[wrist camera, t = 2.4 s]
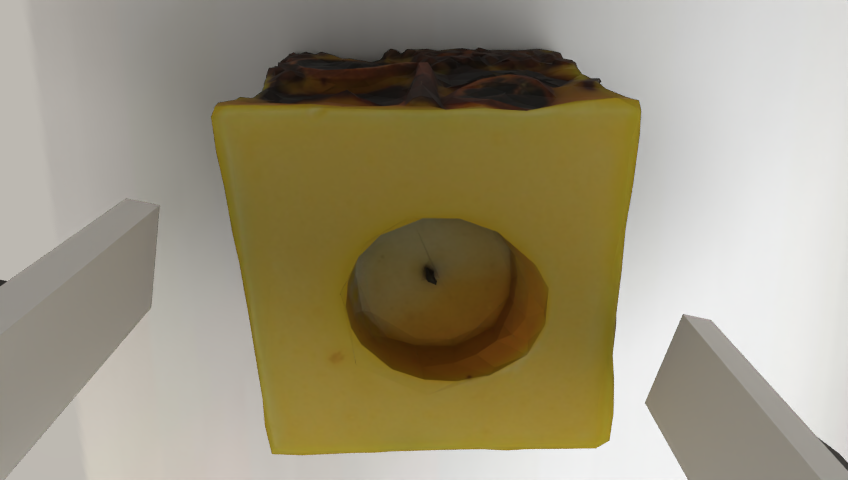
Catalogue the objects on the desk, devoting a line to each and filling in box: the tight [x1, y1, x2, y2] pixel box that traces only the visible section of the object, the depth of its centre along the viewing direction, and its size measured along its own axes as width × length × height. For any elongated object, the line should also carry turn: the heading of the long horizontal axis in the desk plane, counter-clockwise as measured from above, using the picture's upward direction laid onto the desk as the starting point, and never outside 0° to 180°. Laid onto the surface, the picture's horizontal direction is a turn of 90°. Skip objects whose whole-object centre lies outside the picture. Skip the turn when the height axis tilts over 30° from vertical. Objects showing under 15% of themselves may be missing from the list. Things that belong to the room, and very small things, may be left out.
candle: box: [211, 48, 641, 455], centre depth 20 cm, size 10×10×10 cm
